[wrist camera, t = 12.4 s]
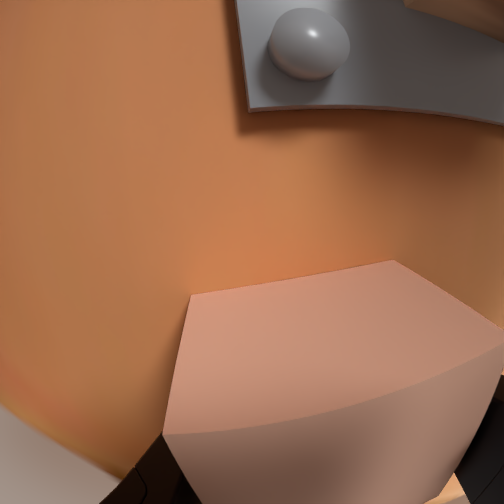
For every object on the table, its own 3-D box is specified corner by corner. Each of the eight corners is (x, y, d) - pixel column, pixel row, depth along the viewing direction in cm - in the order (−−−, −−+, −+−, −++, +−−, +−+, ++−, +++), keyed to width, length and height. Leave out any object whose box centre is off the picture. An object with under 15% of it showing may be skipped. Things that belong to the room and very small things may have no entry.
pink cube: (393, 259, 9) (512, 336, 4) (381, 403, 10) (438, 496, 5) (190, 294, 8) (162, 434, 3) (229, 436, 10) (237, 552, 5)
